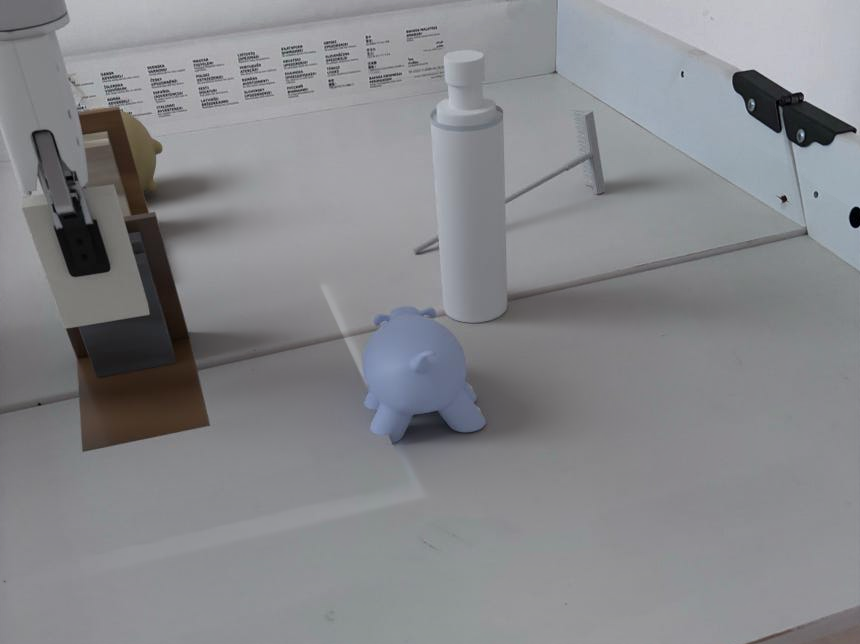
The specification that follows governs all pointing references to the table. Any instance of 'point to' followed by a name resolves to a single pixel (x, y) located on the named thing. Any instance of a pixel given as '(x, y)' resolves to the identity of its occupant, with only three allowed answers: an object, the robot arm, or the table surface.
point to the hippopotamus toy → (417, 374)
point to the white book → (98, 292)
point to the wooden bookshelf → (111, 158)
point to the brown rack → (139, 358)
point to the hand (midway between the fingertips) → (89, 263)
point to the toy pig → (142, 150)
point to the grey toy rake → (566, 164)
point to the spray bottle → (470, 193)
